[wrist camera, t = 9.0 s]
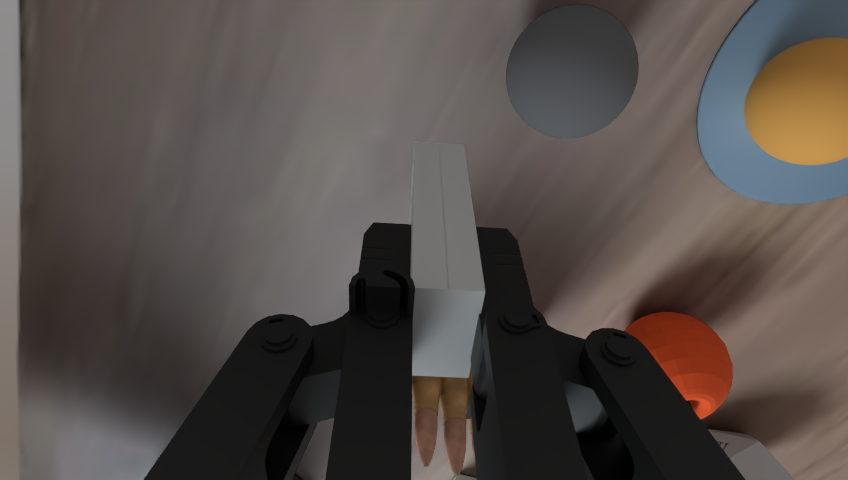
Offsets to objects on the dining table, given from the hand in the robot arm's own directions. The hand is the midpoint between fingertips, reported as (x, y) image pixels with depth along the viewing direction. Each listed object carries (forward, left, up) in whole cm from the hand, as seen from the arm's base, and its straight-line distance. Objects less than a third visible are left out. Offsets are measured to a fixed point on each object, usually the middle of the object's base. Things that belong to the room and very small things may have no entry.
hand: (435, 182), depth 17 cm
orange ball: (+17, 0, -8) cm, 19 cm away
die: (+26, -31, -11) cm, 42 cm away
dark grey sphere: (+6, +1, -8) cm, 10 cm away
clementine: (+16, -18, -11) cm, 27 cm away
